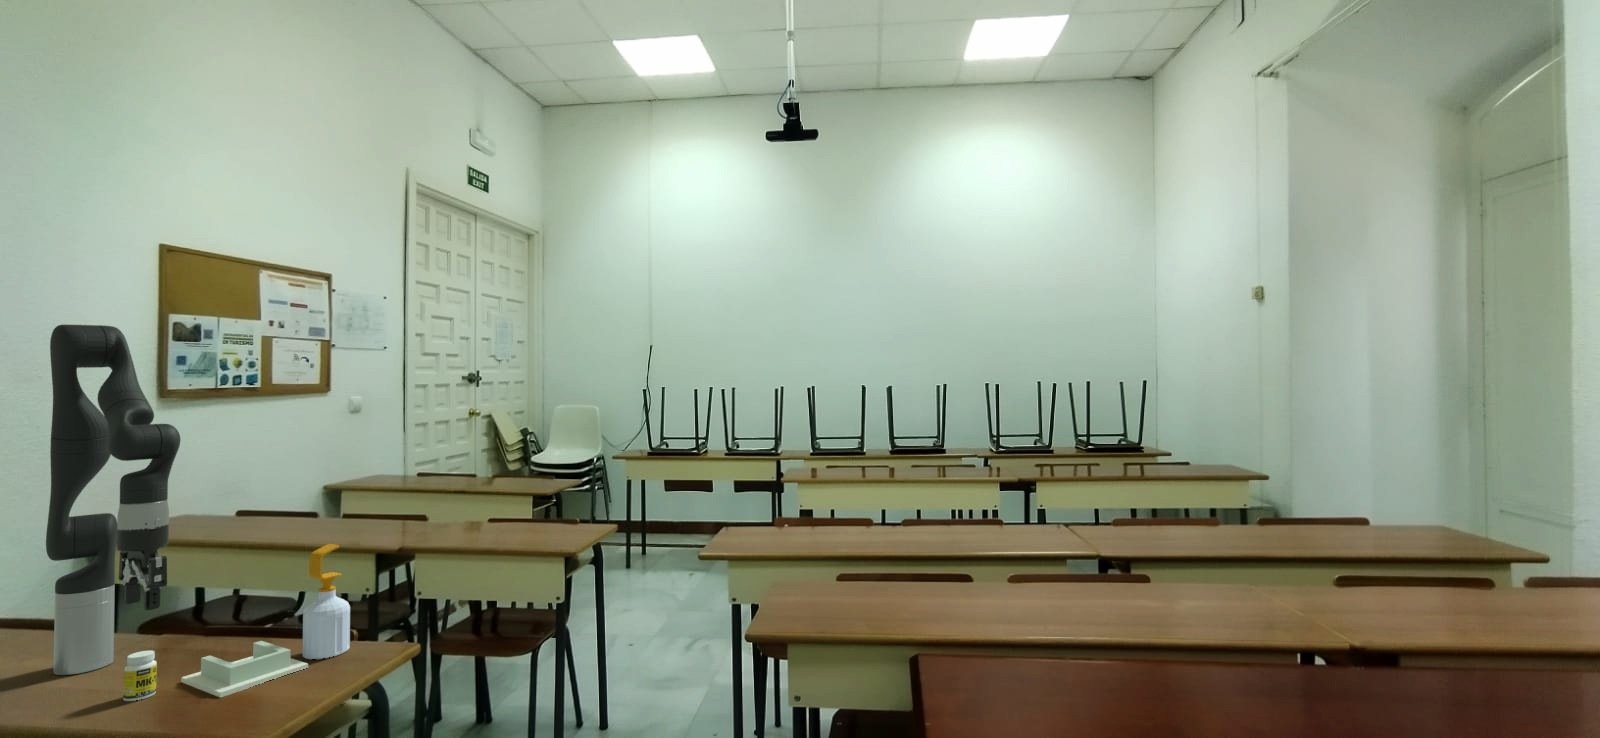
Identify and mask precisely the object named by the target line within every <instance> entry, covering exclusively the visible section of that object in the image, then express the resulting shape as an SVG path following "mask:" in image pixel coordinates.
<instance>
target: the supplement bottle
mask: <svg viewBox="0 0 1600 738" xmlns="http://www.w3.org/2000/svg"><path fill="white" fill-rule="evenodd" d="M155 656H156V655H155V650H141V651H138V652H134V653H131V654H129V655H127V657H126V664H127V665H126V666H125V667H124V669H123V691H122V692H123V693H122V695H123V696H122V698H123V699H122V700H123V701H125V702H136V700H138V701H142V700H145V699H148V698H151V697H152V696H154V695H155V694H156V692H157V672H158V671H157V669H158V668H157V667H158V663H157V660H154V659H155ZM141 699H142V700H141Z"/></svg>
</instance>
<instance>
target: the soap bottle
mask: <svg viewBox="0 0 1600 738" xmlns="http://www.w3.org/2000/svg"><path fill="white" fill-rule="evenodd" d="M339 548H340V545H339V544H334V543H328V544H325V545H323V546H321V547H320V548H317V549H316V550H314V551H312V552H311V553H310V555H309V558H308V559H309V565H308V566H309V567H308V569H309V571H308V574H309V577H310V578H312V579H317V580H319V581H320V583H322V587H319V588H318V598H317V599H316V600H314V601H313V602H311V603H310V604H309V605H307V606H306V607H305V608H304V610H303V614H302V657H303V658H304V659H307V660H312V659H316V660H324V659H323V658H325V659H330V658H333V656H334V657H337V656H339V655H342V654H344V653H346V652H347V651H348V650H350V648H351V647H350V645H351V605H350V604H349V601H347V600H345V599H344V598H341V597H338V596H337V594H336V593H337V592H336V591H337V589H336V588H337V587H336V586H335V585H333V584H332V582H334V581H335V578H337V577H341V576H342V573H340V572H336V571H335V572H334V571H332V572H326V573H323V572H322V571H323V558H324V557H325V556H326V555H327V554H330V553H331V552H333V551H335V550H337V549H339ZM329 657H330V658H329Z"/></svg>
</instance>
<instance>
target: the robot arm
mask: <svg viewBox="0 0 1600 738" xmlns="http://www.w3.org/2000/svg"><path fill="white" fill-rule="evenodd" d="M49 343H50V344H49V353H50V356H49V357H50V367H51V368H50V369H51V371H50V372H51V382H52V412H51V413H52V416H51V417H52V418H51V431H50V451H49V452H50V456H49V457H50V496H49V497H50V498H49V507H48V516H47V524H46V533H45V536H46V537H45V550H46V554H47V556H48V558H49V559H50V560H51V561H53V562H54V561H55V562H58V561H59V562H60V561H68V560H75V559H76V560H77V559H84V558H93V557H95V558H94V559H93V561H91V562H90V563H89V564H87V565H85V566H84V567H81V568H80V569H78V570H76V571H72V572H70V573H67V574H65V575H63V576H61V577H59V578H58V579H57V580H56V581H55V584H54V585H55V586H54V622H53V624H54V625H53V626H54V627H53V628H54V632H53V633H54V634H53V635H54V636H53V667H52V668H53V671H52V672H53V675H56V676H67V675H68V676H69V675H76V674H77V675H78V674H83V673H87V672H91V671H95V670H98V669H100V668H102V669H103V668H104V667H106V666H109V665H110V664H112V663H113V662H114V653H115V652H114V648H115V647H114V645H115V588H116V587H115V586H116V585H115V584H116V581H115V580H116V578H115V577H116V576H115V575H116V574H115V573H116V569H115V567H116V553H117V551H118V552H119V560H118V561H119V562H118V564H119V566H118V581H121V582H122V585H123V586H124V603H125V604H126V605H131V604H134V603H136V604H137V603H139V602H140V601H141V585H142V586H143V589H144V592H143V593H144V595H143V609H144V610H145V611H152V610H156V609H159V608H160V606H161V589H163V588H164V587H167V585H168V562H167V561H168V557H167V555H163V556H159V552H158V550H159V549H160V548H164V547H166V546H167V545H168V544H169V537H170V536H169V535H170V533H169V532H170V531H169V530H170V528H169V526H170V508H169V501H168V500H169V499H168V498H169V497H168V494H169V492H168V490H169V489H168V488H169V478H170V474H171V471H172V467H173V465H174V461H175V459H176V457H177V454H178V451H179V448H180V445H181V435H180V432H179V430H178V429H177V428H176V427H175V426H174V425H172V424H169V423H152V422H153V421H154V418H155V413H154V410H153V408H152V406H151V404H150V402H149V400H148V399H147V397H146V396H145V394H144V392H143V390H142V388H141V386H140V382H139V380H138V377H137V372H136V369H135V365H134V361H133V358H132V354H131V351H130V348H129V344H128V342H127V339H126V337H125V335H124V333H123V332H122V330H120V328H118V327H115V326H113V325H112V326H110V325H100V324H99V325H95V324H59V325H57V326H55V328H54V329H53V330H52V332H51V337H50V342H49ZM81 368H83V369H84V368H86V369H87V368H89V369H90V368H110V370H111V371H110V374H109V375H108V377H107V378H106V379H105V381H104V382H103V383H102V384H101V386H100V388H99V390H98V393H97V403H98V407H99V408H100V410H101V411H100V410H99V408H98V407H97V406H96V405H95V404H94V403H93V402H92V401H91V400H90V399H89V397H88V396H87V395H86V393H85V392H84V390H83V388H82V386H81V384H80V381H79V377H78V369H81ZM111 456H112V457H113V458H115V459H117V460H120V461H124V462H125V461H126V462H130V461H143V460H150V463H149V464H148V465H147V466H146V467H144V468H143V469H141V470H140V469H139V470H136V471H132V472H129V473H126V474H124V475H123V476H121V478H120V480H119V507H118V510H117V518H116V517H115V515H114V514H113V513H110V512H108V513H107V512H103V513H94V514H83V515H74V516H70V513H71V510H72V508H73V505H74V504H75V502H76V500H77V499H78V497H79V496H80V495H81V493H82V491H83V490H84V489H85V488H86V486H87V485H88V484H89V483H91V481H92V480H93V479H94V478H95V477H96V476H97V475H98V474H99V472H101V470H102V469H103V468H104V467H105V465H106V464H107V463H108V461H109V459H110V457H111Z"/></svg>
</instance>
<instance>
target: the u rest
mask: <svg viewBox="0 0 1600 738" xmlns="http://www.w3.org/2000/svg"><path fill="white" fill-rule="evenodd" d="M252 645H253V650H252V651H253V652H252V654H253V655H252V656H248V657H245V658H241V659H238V660H235V661H231V662H230V661H227V660H225V659H222V658H218V657H215V656H213V655H207V656H204V657H201V658H200V671H198V672H194V673H191V674H188V675H184V676H182V677H181V681H180V682H181V683H182V682H183V683H182V684H185V685H186V686H187V685H188V686H190V687H192V688H194V689H198V690H200V691H202V692H204V693H208V694H210V695H213V696H215V697H218V698H223V697H227V696H229V695H233V694H235V693H239V692H241V691H244V690H247V689H251V688H254V687H256V686H255V685H257V686H259V685H258V684H260V685H263V684H265V683H264V682H266V681H269V680H272V679H275V680H277V679H276V678H278V677H281V676H284V675H287V674H290V673H293V672H296V671H299V670H302V671H304V670H303V669H305V670H307V669H306V668H308V669H309V663H307V662H303V661H301V660H297V659H294V658H291V655H292V653H291V652H292V650H291V649H289V648H287V647H282V646H280V645H276V644H273V643H270V642H266V641H263V640H260V641H256V642H253V644H252ZM299 672H300V671H299ZM296 673H297V672H296ZM293 674H294V673H293ZM290 675H291V674H290ZM287 676H288V675H287ZM284 677H285V676H284ZM281 678H282V677H281ZM278 679H279V678H278ZM272 681H273V680H272ZM269 682H270V681H269ZM262 683H263V684H262ZM266 683H267V682H266ZM253 686H254V687H253ZM250 687H251V688H250Z"/></svg>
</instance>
